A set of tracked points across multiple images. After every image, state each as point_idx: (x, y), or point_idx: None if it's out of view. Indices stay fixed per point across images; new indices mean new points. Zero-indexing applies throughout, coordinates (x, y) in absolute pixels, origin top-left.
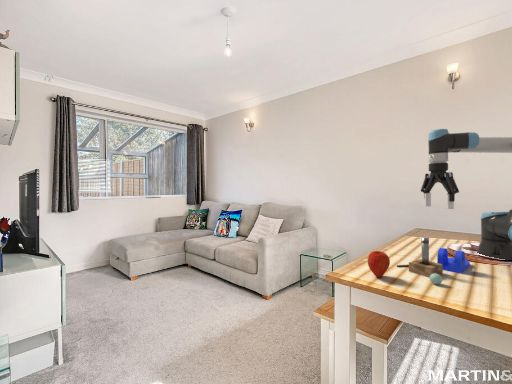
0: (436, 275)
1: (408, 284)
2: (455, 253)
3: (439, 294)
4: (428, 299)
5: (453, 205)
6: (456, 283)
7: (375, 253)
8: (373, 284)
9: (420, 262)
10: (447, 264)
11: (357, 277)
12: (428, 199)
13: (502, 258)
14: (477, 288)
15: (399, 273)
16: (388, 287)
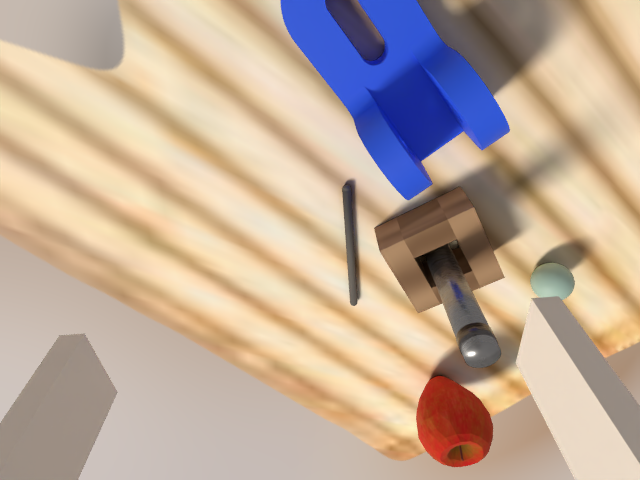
0: (568, 295)
1: (518, 338)
2: (481, 146)
3: (609, 302)
4: (620, 340)
5: (586, 339)
6: (563, 204)
7: (449, 453)
8: (490, 405)
9: (422, 271)
10: (406, 126)
11: None
12: (42, 476)
13: None
14: (628, 166)
15: (423, 321)
16: (520, 384)
